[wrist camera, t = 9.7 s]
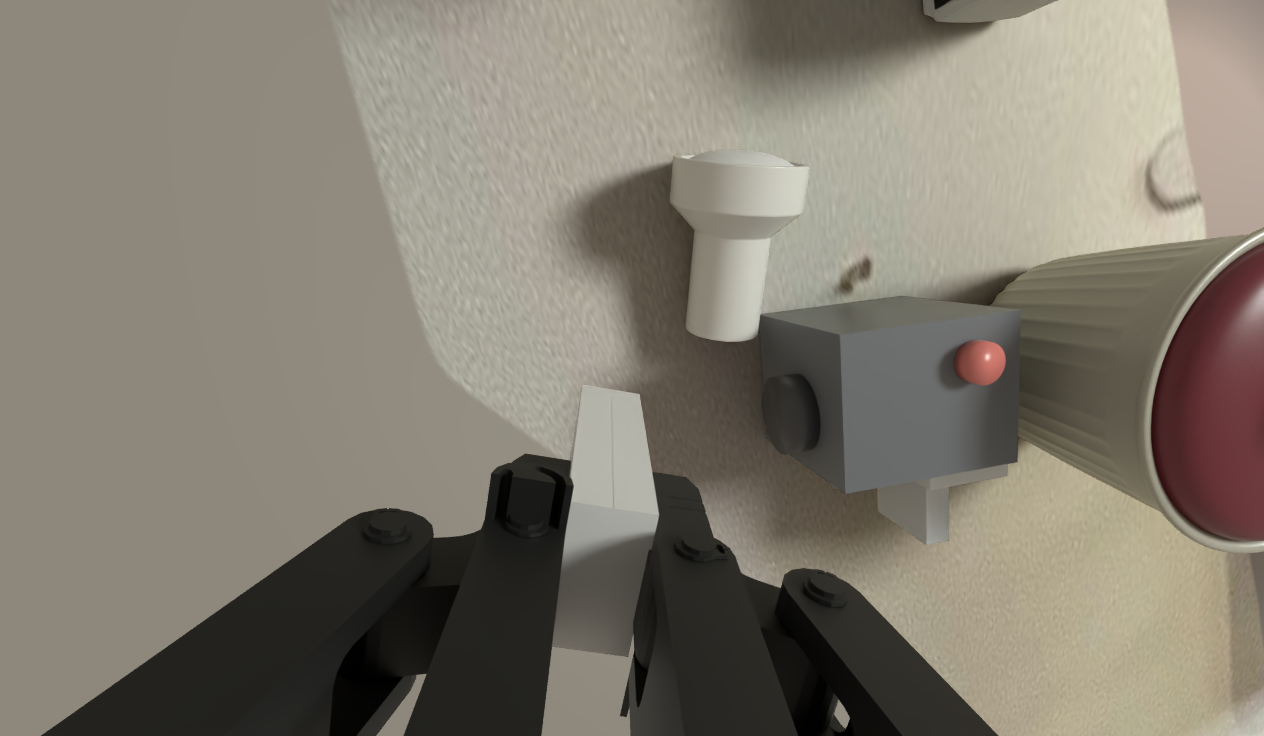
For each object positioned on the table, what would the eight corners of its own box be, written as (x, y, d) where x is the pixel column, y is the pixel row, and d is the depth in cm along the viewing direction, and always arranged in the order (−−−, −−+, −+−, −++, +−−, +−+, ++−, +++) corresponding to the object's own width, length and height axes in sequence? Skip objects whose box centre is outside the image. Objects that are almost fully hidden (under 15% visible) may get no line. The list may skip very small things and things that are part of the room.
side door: (865, 435, 46) (930, 467, 39) (933, 423, 47) (1008, 453, 40) (867, 504, 47) (930, 548, 40) (933, 491, 48) (1006, 532, 41)
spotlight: (794, 150, 41) (830, 158, 34) (770, 318, 46) (797, 358, 38) (670, 143, 41) (678, 149, 34) (657, 311, 45) (662, 351, 38)
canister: (893, 309, 46) (1200, 355, 26) (1090, 181, 48) (1528, 131, 27) (982, 501, 51) (1302, 668, 31) (1159, 380, 52) (1578, 463, 32)
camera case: (736, 317, 44) (821, 341, 32) (901, 296, 46) (1035, 311, 35) (745, 446, 46) (828, 512, 34) (903, 420, 48) (1030, 474, 37)
